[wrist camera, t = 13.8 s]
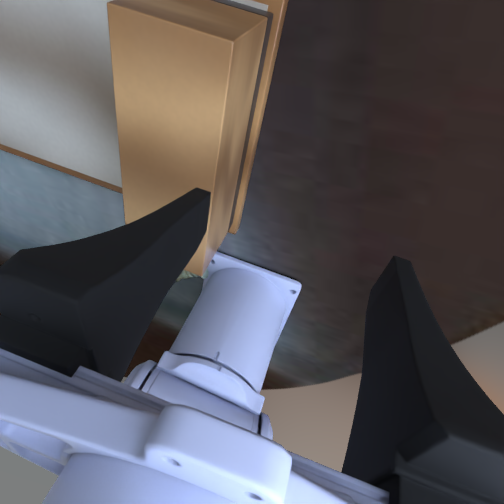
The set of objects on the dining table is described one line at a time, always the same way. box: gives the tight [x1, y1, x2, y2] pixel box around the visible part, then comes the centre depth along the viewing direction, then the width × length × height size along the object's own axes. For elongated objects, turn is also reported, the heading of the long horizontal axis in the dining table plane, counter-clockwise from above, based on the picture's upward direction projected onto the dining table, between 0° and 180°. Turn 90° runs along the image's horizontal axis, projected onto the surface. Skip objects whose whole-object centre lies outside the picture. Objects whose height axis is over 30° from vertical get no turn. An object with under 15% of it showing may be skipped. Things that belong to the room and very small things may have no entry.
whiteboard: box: [0, 0, 288, 234], centre depth 22 cm, size 15×20×1 cm
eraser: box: [107, 0, 274, 276], centre depth 19 cm, size 13×5×6 cm, turn 169°
